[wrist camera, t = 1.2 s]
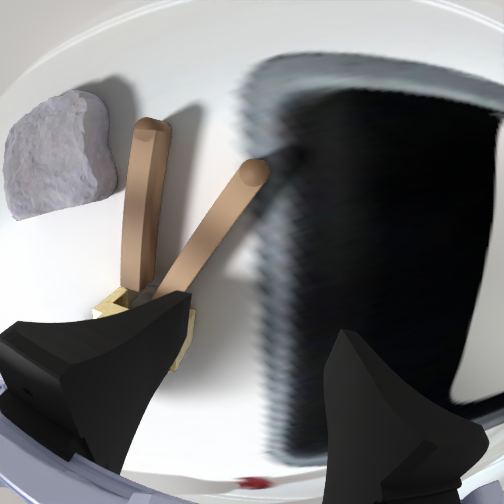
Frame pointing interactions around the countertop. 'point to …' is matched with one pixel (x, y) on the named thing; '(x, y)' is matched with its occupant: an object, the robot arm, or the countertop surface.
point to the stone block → (59, 156)
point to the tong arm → (215, 225)
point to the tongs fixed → (143, 206)
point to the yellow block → (120, 303)
